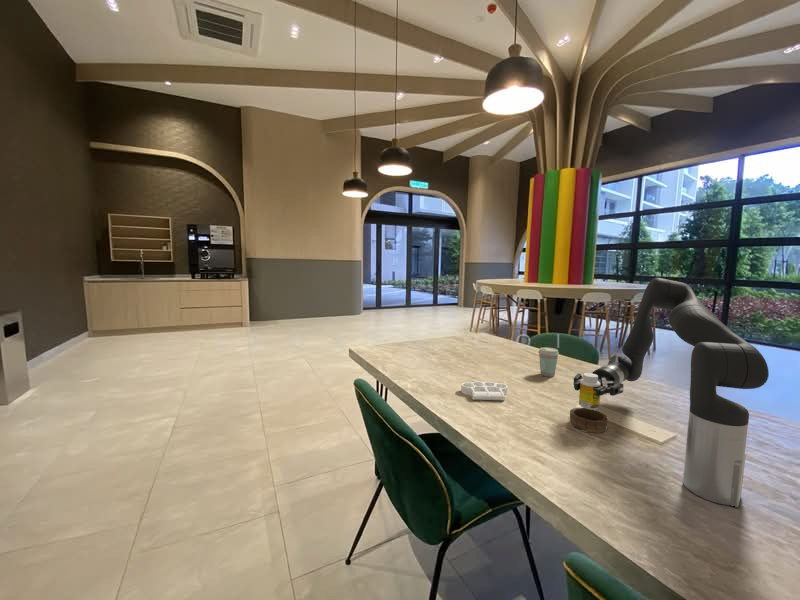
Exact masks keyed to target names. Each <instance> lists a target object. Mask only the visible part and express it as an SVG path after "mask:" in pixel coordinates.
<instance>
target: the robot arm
mask: <svg viewBox="0 0 800 600" xmlns="http://www.w3.org/2000/svg"><path fill="white" fill-rule="evenodd" d="M640 300H641V301H640V303H639V306H638V310H637V312H636V315H635V318H634V322H633V324H632V327H631V329H630V332H629V334H628V336H627V338H626V339H625V342H624V344H623V345H622V347H621V351H622V353H623V355H622V354H614V355H612V356H611V357H610V359H608V362H607V364H606V365H603V366H601V367H599V368H597V369H595V370H594V371H592V373H593V374H596V375H598V381H599V382H600V384H601V387H599V388H598V389H597V390H596V396H600V397H601V396H604V395H608V394H609V395H610V396H616V395H620V394H622V393H624V384H623V382H624V381H627V382H636V381H638V380H639V379H640V377H641V376H642V372H643V368H644V360H645V357H646V355H647V353H648V351H649V349H650V348H651V346H652V344H653V343H654V339H655V337H654V331H653V326H652V322H651V311H652V309H653V308H654V307H655V308H660V309H664V310H668V311H670V314H669V316H668V322H669V325H670V327H671V328H672V330H673V331H674V332H675V334H676V335H677V336H678V337H679V339H681V341H683V342H685V343H687V344H689V345H691V346H693V349H692V351H691V356H690V383H689V384H690V385H689V386H690V387H689V412H688V421H687V422H688V425H687V433H686V444H685V445H686V446H685V453H684V454H685V456H684V467H683V468H684V469H683V474H682V475H683V478H682V482H683V485H684V486H685V488H686V489H687V490H689V491H690V492H691V493H693V494H694V495H696V496H698V497H700V498H702V499H705V500H707V501H710V502H713V503H715V504H721V505H725V504H726V505H725V506H730V505H731V507H733V506H735V507H734V508H736V507H738V508H739V506H738V505H740V502H741V498H742V491H743V484H744V473H745V465H746V445H747V437H748V429H749V428H748V427H749V421H750V420H749V419H750V411H749V410H748V409H747V408H746V407H744V406H743V405H742V404H740V403H737V402H736V401H733V400H730V399H728V398H725V397H722V396H720V395H719V394H717V387H721V388H728V389H729V388H731V389H739V390H753V389H759V388H761V387H762V386H764V385H765V384H766V383H767V382H768V379H769V367H768V363H767V360H766V359H765V357H764V356H763V354H762V353H761V352H760V351H759V350H758V349H757V348H756V347H755V346H754V345H752V344H751V343H750V342H748V341H746V340H745V339H743V338H742V337H741V336H739V335H737V334H736V333H735V332H734V331H732V329H729V327H728V326H726V325H725V324H724V323H723V322H722V321H721V320H720V319H719V318H718V317H717V316H716V315H715V313H713V312H712V311H711V310H710V309H709V308H707V307H706V306H705V304H704V303H702V302H701V300H700V299H699V298H698V297H697V295H696V293H695V292H694V290H693V288H691V286H690V285H688V284H687V283H685V282H681V281H677V280H672V279H671V280H670V279H666V278H661V277H655V278H653V279H651V280H650V281H649V282H648V283H647V286H646V287H645V289H644V292H643V294H642V297H641V299H640ZM624 355H625V356H624ZM581 379H583V375H582V374H581V373H577V374H576V375H575V376H574V377H573V389H574V390H575V391H580V380H581Z"/></svg>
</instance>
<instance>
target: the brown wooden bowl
mask: <svg viewBox="0 0 800 600" xmlns="http://www.w3.org/2000/svg"><path fill="white" fill-rule="evenodd" d="M608 420H609V418H608V416H607V415H606V414H605V413H603V412H601V411H598V410H597V409H595V410H590V409H586V408H583V407H574V408H572V409H570V410H569V423H570V425H571V426H572V427H573V428H576V429H577V430H580V431H582V432H586V433H589V434H602V433H605V432H606V431H607V427H608V422H609V421H608Z"/></svg>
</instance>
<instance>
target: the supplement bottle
mask: <svg viewBox="0 0 800 600" xmlns="http://www.w3.org/2000/svg"><path fill="white" fill-rule="evenodd" d="M582 377H583V379H581V380H580V389H579V395H578V396H579V397H578V404H579V406H580V408H586V409H590V410H598V409H599V408H600V401H601V396H596V390H597V389H598V388H599V387H601V384H600V382H599V381H598V375H596V374H593V372H585V373H583V375H582Z"/></svg>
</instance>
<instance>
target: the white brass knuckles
mask: <svg viewBox="0 0 800 600" xmlns="http://www.w3.org/2000/svg"><path fill="white" fill-rule="evenodd" d="M508 388H509V386H508V385H507V384H506V383H504V382H503V383H501V382H492V381H479V380H478V381H477V380H476V381H473V382H472V381H471V382H462V383H461V385H460V392H461V394H464V395H467V396H470V398H471V400H473V401H476V400H477V401H479V400H480V401H501V402H503V401H505V400H506V396H507V395H508Z"/></svg>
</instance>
